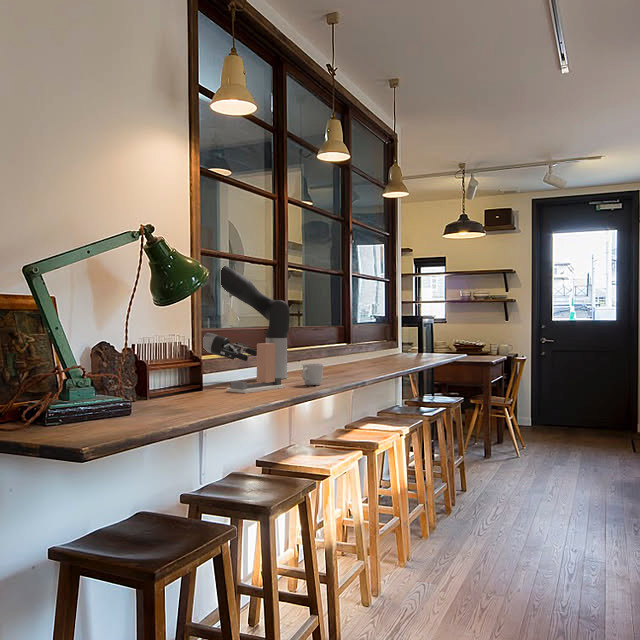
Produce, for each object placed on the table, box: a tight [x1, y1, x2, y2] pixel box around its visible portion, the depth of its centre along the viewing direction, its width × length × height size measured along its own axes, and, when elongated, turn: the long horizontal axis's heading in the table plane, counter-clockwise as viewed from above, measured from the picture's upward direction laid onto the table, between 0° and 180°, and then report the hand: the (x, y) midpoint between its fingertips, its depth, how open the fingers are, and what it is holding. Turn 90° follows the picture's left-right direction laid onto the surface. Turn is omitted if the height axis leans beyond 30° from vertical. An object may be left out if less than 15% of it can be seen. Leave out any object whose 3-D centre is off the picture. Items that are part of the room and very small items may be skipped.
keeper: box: [256, 342, 275, 383], centre depth 220 cm, size 5×4×14 cm
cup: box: [301, 363, 324, 386], centre depth 230 cm, size 11×8×8 cm
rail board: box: [226, 378, 286, 394], centre depth 216 cm, size 21×9×4 cm, turn 143°
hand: (252, 356), depth 230 cm, fingers open, 8 cm apart
